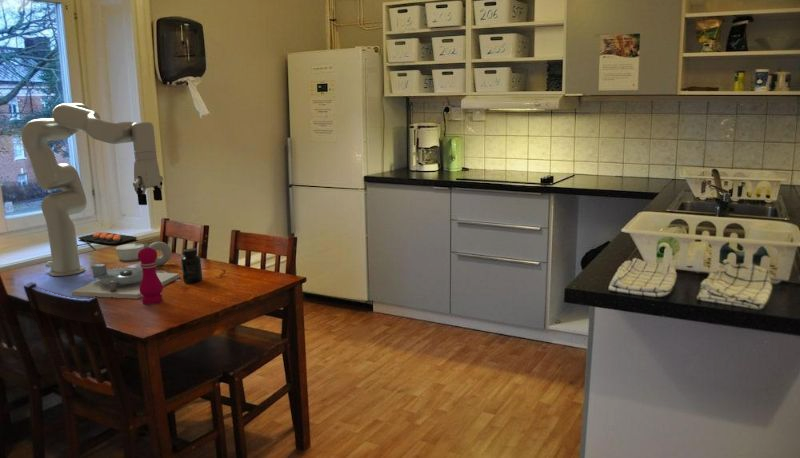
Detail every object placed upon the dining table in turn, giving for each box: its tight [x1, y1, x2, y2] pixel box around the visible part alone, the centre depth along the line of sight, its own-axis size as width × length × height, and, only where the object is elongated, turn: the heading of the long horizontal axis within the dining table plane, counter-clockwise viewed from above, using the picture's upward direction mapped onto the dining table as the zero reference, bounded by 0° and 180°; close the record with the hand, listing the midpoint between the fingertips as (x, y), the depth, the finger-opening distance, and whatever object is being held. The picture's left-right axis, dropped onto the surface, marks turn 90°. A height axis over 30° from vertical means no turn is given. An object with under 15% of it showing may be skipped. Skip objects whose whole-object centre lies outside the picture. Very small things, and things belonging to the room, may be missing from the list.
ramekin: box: [115, 243, 144, 262], centre depth 280 cm, size 11×11×5 cm
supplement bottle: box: [180, 248, 203, 285], centre depth 242 cm, size 7×7×12 cm
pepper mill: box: [137, 243, 164, 305], centre depth 218 cm, size 7×7×20 cm
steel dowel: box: [109, 281, 117, 292], centre depth 228 cm, size 2×2×4 cm
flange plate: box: [91, 263, 143, 285], centre depth 238 cm, size 22×18×4 cm
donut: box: [149, 241, 172, 267], centre depth 266 cm, size 10×4×10 cm, turn 126°
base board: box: [71, 272, 180, 300], centre depth 239 cm, size 26×26×3 cm
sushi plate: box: [77, 231, 137, 251], centre depth 311 cm, size 29×30×4 cm
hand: (150, 202), depth 244 cm, fingers open, 9 cm apart
